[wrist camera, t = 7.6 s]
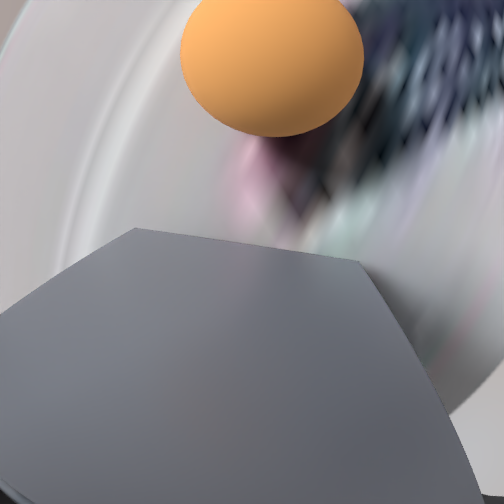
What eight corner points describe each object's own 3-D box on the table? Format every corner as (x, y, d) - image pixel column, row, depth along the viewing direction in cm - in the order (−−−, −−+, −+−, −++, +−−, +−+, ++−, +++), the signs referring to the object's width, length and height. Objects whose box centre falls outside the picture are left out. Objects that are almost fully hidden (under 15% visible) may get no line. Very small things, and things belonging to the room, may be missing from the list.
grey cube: (307, 415, 12) (309, 593, 4) (145, 386, 12) (67, 540, 4) (358, 261, 9) (492, 526, 1) (134, 227, 10) (-85, 386, 1)
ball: (384, -36, 4) (347, 47, 9) (188, -57, 4) (218, 28, 9) (386, 127, 5) (333, 165, 9) (123, 92, 5) (190, 142, 10)
